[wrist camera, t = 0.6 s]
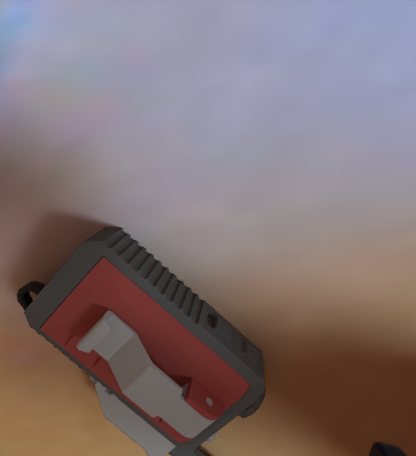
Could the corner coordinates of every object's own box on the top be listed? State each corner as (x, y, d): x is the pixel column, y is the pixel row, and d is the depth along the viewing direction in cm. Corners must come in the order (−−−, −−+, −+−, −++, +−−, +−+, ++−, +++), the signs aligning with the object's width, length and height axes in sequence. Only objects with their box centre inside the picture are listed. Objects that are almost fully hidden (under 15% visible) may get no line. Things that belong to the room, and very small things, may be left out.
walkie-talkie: (13, 305, 20) (255, 504, 22) (-48, 350, 16) (257, 591, 18) (99, 200, 18) (362, 433, 20) (55, 220, 14) (392, 512, 16)
